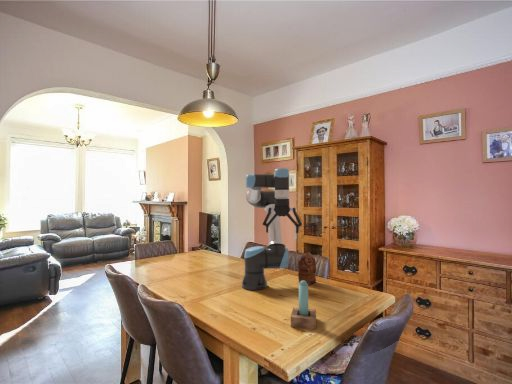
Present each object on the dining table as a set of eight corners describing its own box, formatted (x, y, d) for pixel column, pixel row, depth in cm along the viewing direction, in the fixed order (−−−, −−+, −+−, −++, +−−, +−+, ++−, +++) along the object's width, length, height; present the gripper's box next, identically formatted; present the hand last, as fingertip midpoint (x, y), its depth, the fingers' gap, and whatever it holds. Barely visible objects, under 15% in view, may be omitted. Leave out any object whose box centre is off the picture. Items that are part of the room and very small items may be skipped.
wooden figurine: (304, 286, 163) (304, 256, 164) (297, 283, 168) (296, 254, 169) (318, 282, 170) (317, 253, 170) (310, 280, 175) (310, 252, 175)
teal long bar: (298, 324, 114) (298, 281, 114) (299, 320, 118) (298, 278, 118) (308, 325, 113) (307, 282, 113) (308, 321, 117) (308, 279, 117)
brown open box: (290, 326, 112) (290, 317, 112) (293, 316, 121) (293, 307, 121) (315, 329, 109) (315, 319, 109) (316, 318, 119) (316, 309, 119)
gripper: (256, 198, 140) (257, 239, 140) (306, 198, 134) (306, 241, 134) (260, 198, 147) (260, 237, 147) (306, 198, 141) (307, 239, 141)
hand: (282, 239), depth 140 cm, fingers open, 13 cm apart
